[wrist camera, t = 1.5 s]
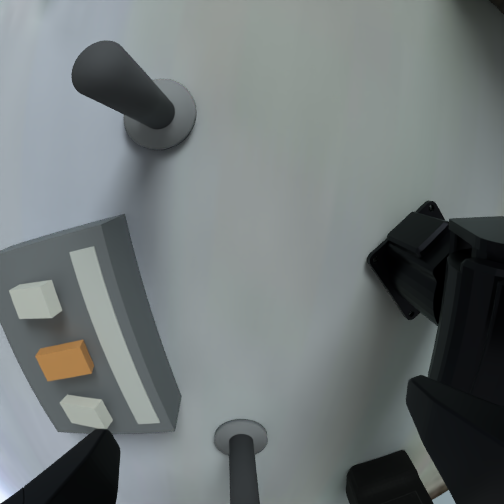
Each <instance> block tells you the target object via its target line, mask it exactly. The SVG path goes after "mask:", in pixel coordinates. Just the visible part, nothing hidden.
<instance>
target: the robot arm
mask: <svg viewBox="0 0 504 504" xmlns="http://www.w3.org/2000/svg"><path fill="white" fill-rule="evenodd" d="M430 205H431V207H432V208H431V210H430V211H429V206H430ZM374 257H377V261H376V262H373V259H374ZM367 261H368V264H369V265H370V266H371V268H372V269H373V271H374V272H375V274H376V275H377V276H378V278H379V279H380V281H381V282H382V284H383V285H384V287H385V288H386V289H387V291H388V292H389V294H390V295H391V297H392V298H393V300H394V301H395V303H396V304H397V306H398V307H399V309H400V310H401V312H402V313H403V315H404V316H405V317H406V318H407V319H408V320H412V319H414V318H415V317H416V316H417V315H418V314H419V313H420V312H421V313H422V314H423V315H425V316H426V317H427V318H428V319H429V320H431V321H432V322H433V323H434V324H435V325H437V326H438V329H437V334H436V339H435V344H434V349H433V354H432V359H431V363H430V367H429V372H428V377H425V376H423V375H419V376H416V377H414V378H411V379H410V380H409V381H408V387H407V395H406V404H407V407H408V409H409V412H410V414H411V416H412V419H413V421H414V423H415V426H416V428H417V431H418V433H419V435H420V438H421V440H422V442H423V444H424V446H425V448H426V450H427V452H428V454H429V455H430V457H431V459H432V461H433V462H434V464H435V466H436V468H437V470H438V471H439V473H440V475H441V477H442V479H443V480H444V482H445V484H446V486H447V488H448V490H449V491H450V493H451V495H452V497H453V499H454V501H455V503H456V504H504V216H498V217H474V218H453V219H449V222H448V221H445V219H444V217H443V215H442V214H441V212H440V210H439V208H438V206H437V204H436V203H435V202H433V201H426V202H425V203H424V204H423V205H422V206H421V207H420V208H419V209H418V210H417V211H416V212H411V213H410V214H409V215H408V216H407V217H406V218H405V219H404V220H403V221H402V222H401V223H399V224H398V225H397V226H396V227H395V228H394V229H393V230H392V231H391V232H390V233H389V234H388V236H387V239H385V240H384V241H383V242H382V243H381V244H380V245H379V246H378V247H377V248H375V249H374V250H373V251H372V252H371V253H370V254H369V255H368V258H367ZM410 311H412V313H411V314H410V315H409V313H410ZM119 465H120V447H119V445H118V444H117V442H116V440H115V439H114V437H113V435H112V434H111V432H110V431H109V430H108V429H95V430H94V431H92V432H91V433H90V434H89V435H88V436H86V437H85V438H84V439H83V440H81V441H80V442H79V443H78V444H77V445H75V446H74V447H73V448H72V449H70V450H69V451H68V452H67V453H66V454H64V455H63V456H62V457H61V458H59V459H58V460H57V461H56V462H54V463H53V464H52V465H51V466H49V467H48V468H47V469H46V470H44V471H43V472H42V473H41V474H39V475H38V476H37V477H36V478H34V479H33V480H32V481H30V482H29V483H28V484H27V485H25V486H24V488H21V489H20V490H19V491H18V492H16V493H15V494H14V495H12V496H11V497H9V498H8V499H7V500H5V501H4V502H2V503H1V504H116V499H117V492H118V480H119Z"/></svg>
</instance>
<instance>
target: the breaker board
mask: <svg viewBox="0 0 504 504" xmlns="http://www.w3.org/2000/svg"><path fill="white" fill-rule="evenodd" d="M47 280H52V282H53V285H54V288H55V291H56V294H57V297H58V300H59V302H60V305H61V308H62V311H61V312H60V313H58V314H57V315H55V316H54V317H53V318H40V319H19V317H18V314H17V312H16V309H15V307H14V304H13V301H12V298H11V295H10V293H9V290H11V289H12V288H14V287H16V286H18V285H20V284H26V283H33V282H40V281H47ZM0 323H1V325H2V327H3V330H4V332H5V335H6V337H7V339H8V341H9V344H10V346H11V348H12V350H13V352H14V355H15V357H16V359H17V361H18V363H19V365H20V367H21V369H22V371H23V373H24V375H25V377H26V379H27V381H28V382H29V384H30V386H31V388H32V390H33V392H34V393H35V395H36V397H37V399H38V400H39V402H40V404H41V406H42V407H43V409H44V411H45V412H46V414H47V415H48V417H49V419H50V420H51V422H52V423H53V425H54V427H55V428H56V430H57V431H58V432H67V433H91V432H92V431H94V430H95V429H99V428H94V427H89V426H84V425H79V424H75V423H71V421H70V420H69V418H68V416H67V415H66V413H65V411H64V410H63V408H62V406H61V405H60V402H61V401H62V400H63V399H64V397H65V396H66V395H67V394H68V395H74V396H80V397H87V398H94V399H102V401H103V403H104V405H105V406H106V408H107V410H108V412H109V414H110V416H111V417H112V419H113V421H112V422H111V424H110V425H109V427H108V428H107V429H108V430H109V431H110V432H111V434H135V433H159V432H174V431H175V428H176V423H177V417H178V411H179V406H180V400H181V394H180V391H179V389H178V386H177V384H176V381H175V378H174V376H173V373H172V370H171V368H170V365H169V362H168V359H167V357H166V354H165V351H164V348H163V345H162V342H161V340H160V337H159V334H158V331H157V328H156V325H155V322H154V318H153V315H152V312H151V309H150V306H149V303H148V299H147V296H146V293H145V289H144V286H143V283H142V279H141V276H140V272H139V269H138V265H137V261H136V258H135V254H134V250H133V246H132V242H131V238H130V234H129V230H128V226H127V222H126V218H125V214H123V215H119V216H115V217H111V218H107V219H103V220H100V221H96V222H92V223H88V224H85V225H81V226H77V227H74V228H70V229H67V230H63V231H60V232H56V233H53V234H49V235H46V236H43V237H39V238H36V239H33V240H29V241H26V242H23V243H20V244H16V245H13V246H10V247H8V248H6V249H3V250H1V251H0ZM78 340H84V342H85V345H86V347H87V350H88V352H89V354H90V357H91V359H92V361H93V363H94V368H93V371H92V374H87V375H81V376H76V377H71V378H65V379H59V380H53V381H47V379H46V377H45V375H44V373H43V371H42V369H41V367H40V365H39V363H38V361H37V359H36V357H35V356H36V354H37V353H38V351H39V349H40V348H45V347H50V346H55V345H60V344H64V343H69V342H74V341H78Z"/></svg>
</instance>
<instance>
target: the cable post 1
mask: <svg viewBox="0 0 504 504" xmlns="http://www.w3.org/2000/svg"><path fill="white" fill-rule="evenodd" d="M72 82H73V85H74V87H75V89H76V90H77V91H78V92H79V93H81V94H83V95H85V96H87V97H89V98H91V99H93V100H95V101H97V102H100V103H102V104H104V105H106V106H108V107H110V108H112V109H114V110H116V111H118V112H120V113H122V114H124V125H125V128H126V131H127V133H128V135H129V136H130V137H131V139H132V140H133V141H134V142H136V143H137V144H139V145H140V146H142V147H145V148H148V149H153V150H163V149H168V148H171V147H173V146H175V145H177V144H179V143H180V142H182V141H183V140H184V139H185V138H186V137H187V136H188V134H189V133H190V132H191V130H192V128H193V126H194V123H195V120H196V105H195V101H194V99H193V97H192V95H191V93H190V92H189V91H188V89H187V88H186V87H185V86H183V85H182V84H180V83H179V82H176V81H174V80H170V79H156V80H152V79H151V78H150V77H149V76H148V75H147V74H146V73H145V72H144V71H143V69H142V68H141V67H140V66H139V65H138V64H137V63H136V62H135V61H134V60H133V58H132V57H131V56H130V55H129V54H128V53H127V52H126V51H125V50H124V49H123V47H122V46H120V45H119V44H118V43H116V42H113V41H100V42H96V43H94V44H92V45H90V46H89V47H87V48H86V49H85V50H84V51H83V52H82V53H81V54H80V55H79V56H78V58H77V59H76V61H75V63H74V66H73V69H72Z"/></svg>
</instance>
